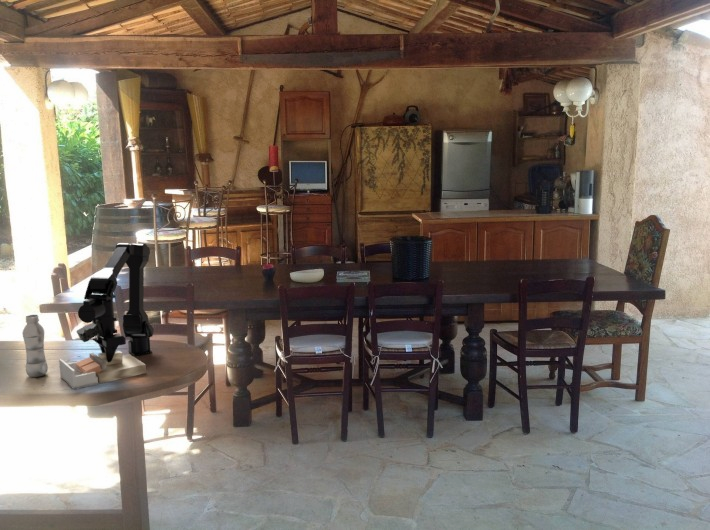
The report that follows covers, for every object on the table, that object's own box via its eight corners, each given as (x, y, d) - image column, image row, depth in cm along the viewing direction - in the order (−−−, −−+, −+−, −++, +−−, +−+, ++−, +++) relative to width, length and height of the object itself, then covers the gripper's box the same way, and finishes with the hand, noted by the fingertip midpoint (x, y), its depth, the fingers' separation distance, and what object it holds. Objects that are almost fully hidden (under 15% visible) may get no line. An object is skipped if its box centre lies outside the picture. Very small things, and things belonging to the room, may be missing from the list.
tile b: (96, 367, 206) (95, 361, 206) (101, 371, 203) (100, 365, 202) (82, 373, 204) (81, 367, 203) (87, 376, 200) (85, 371, 200)
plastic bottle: (25, 380, 204) (19, 319, 200) (27, 373, 210) (21, 314, 206) (48, 377, 206) (42, 317, 202) (48, 371, 212) (43, 312, 209)
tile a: (90, 362, 211) (88, 357, 210) (95, 366, 207) (93, 360, 207) (77, 368, 208) (75, 363, 207) (81, 372, 205) (79, 366, 204)
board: (129, 362, 221) (129, 353, 221) (145, 373, 211) (145, 364, 210) (84, 371, 212) (84, 363, 211) (99, 383, 201) (98, 374, 201)
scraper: (114, 357, 216) (114, 347, 216) (128, 366, 207) (128, 356, 207) (89, 360, 211) (89, 350, 211) (102, 370, 202) (102, 359, 202)
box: (83, 372, 211) (82, 354, 210) (98, 384, 201) (96, 365, 200) (60, 377, 207) (59, 359, 206) (74, 389, 196) (72, 370, 195)
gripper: (69, 313, 208) (72, 359, 211) (88, 325, 194) (92, 374, 197) (103, 307, 215) (107, 352, 218) (124, 318, 201) (128, 366, 204)
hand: (107, 360), depth 209 cm, fingers closed on scraper, 2 cm apart
